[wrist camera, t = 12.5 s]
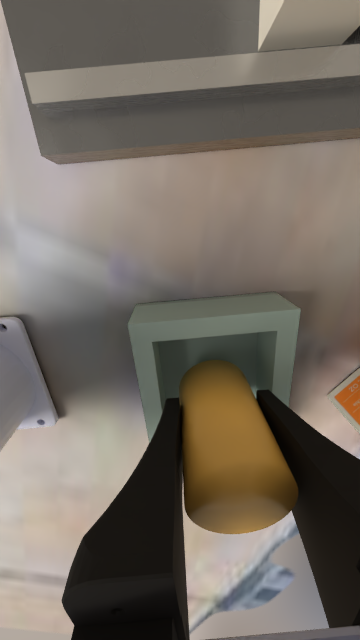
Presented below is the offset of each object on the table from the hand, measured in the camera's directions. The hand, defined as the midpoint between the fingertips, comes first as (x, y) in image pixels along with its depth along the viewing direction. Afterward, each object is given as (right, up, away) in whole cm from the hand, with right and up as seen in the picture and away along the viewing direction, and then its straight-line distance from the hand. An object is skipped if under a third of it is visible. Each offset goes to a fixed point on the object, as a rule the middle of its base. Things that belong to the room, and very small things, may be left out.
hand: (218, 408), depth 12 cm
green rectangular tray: (0, +1, +3) cm, 3 cm away
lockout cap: (0, +1, +2) cm, 2 cm away
